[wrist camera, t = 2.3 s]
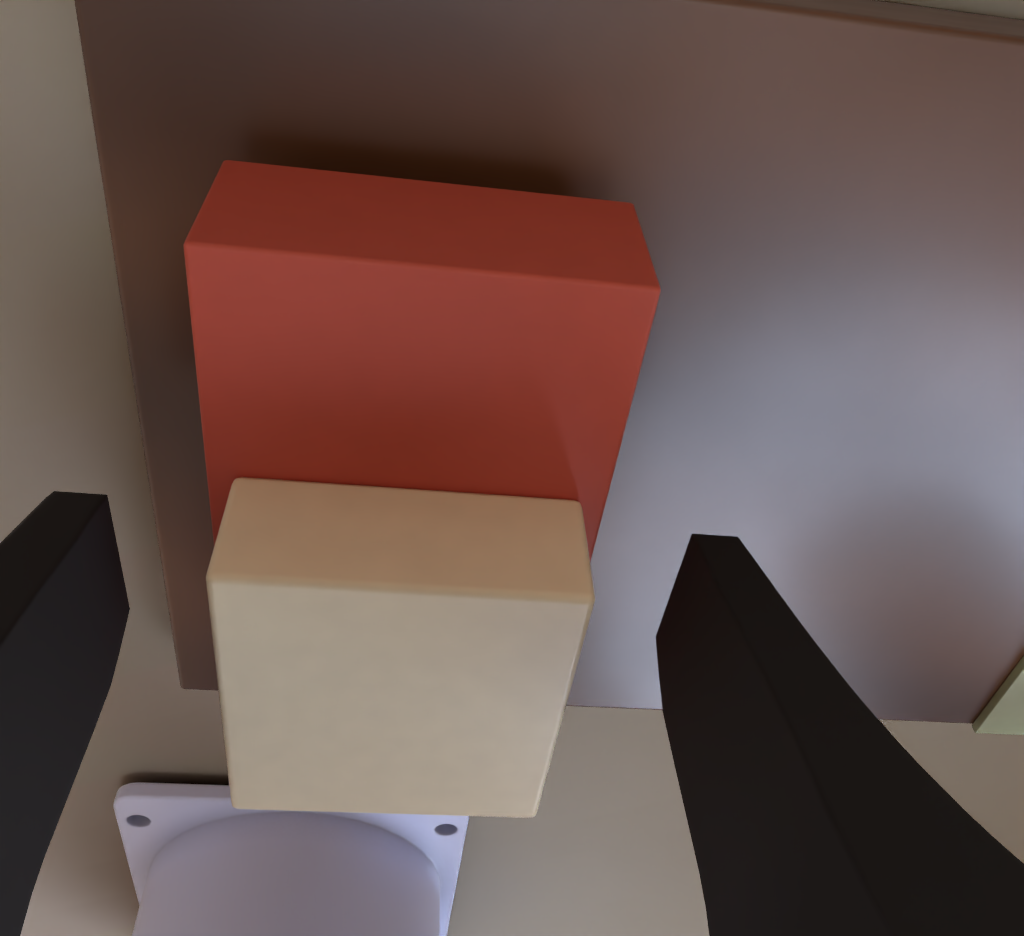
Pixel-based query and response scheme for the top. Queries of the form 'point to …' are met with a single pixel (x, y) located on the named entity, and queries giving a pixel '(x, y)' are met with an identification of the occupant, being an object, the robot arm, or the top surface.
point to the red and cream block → (405, 476)
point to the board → (661, 285)
